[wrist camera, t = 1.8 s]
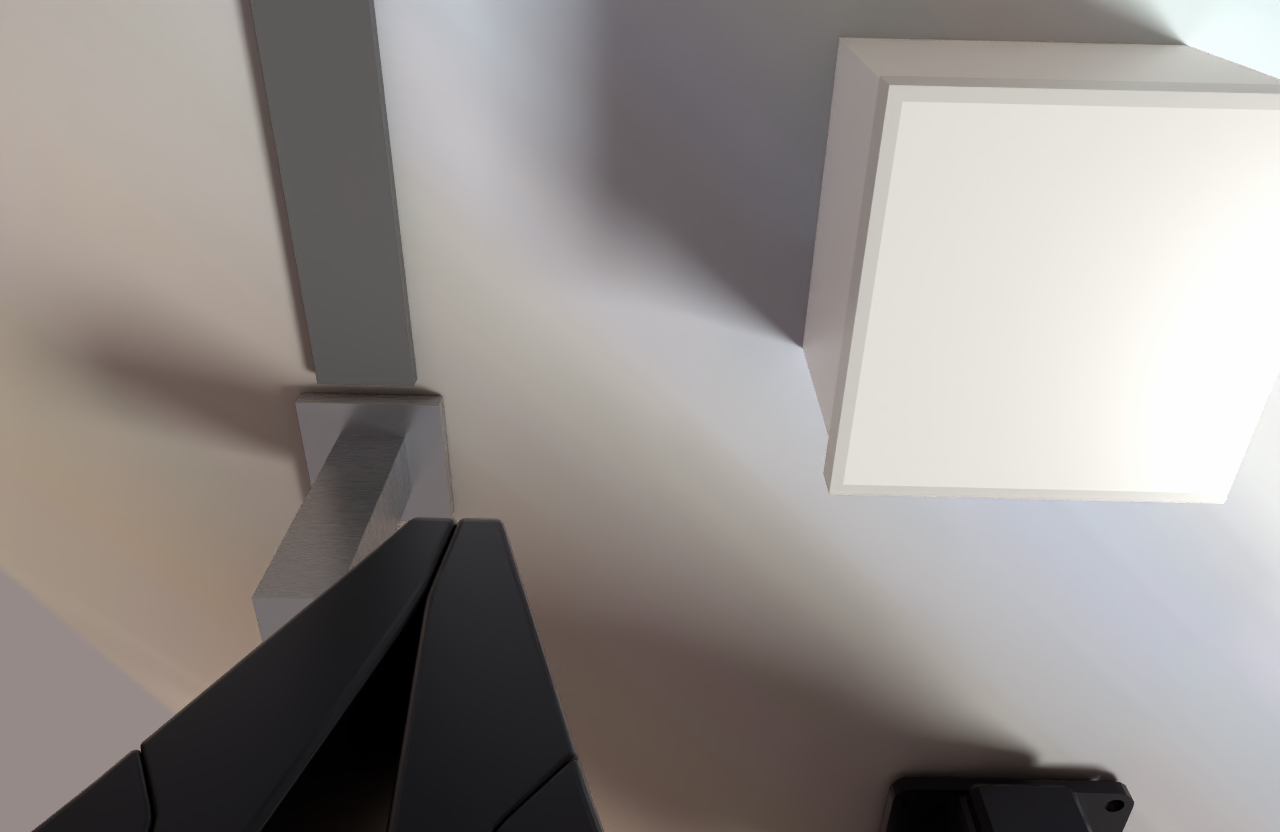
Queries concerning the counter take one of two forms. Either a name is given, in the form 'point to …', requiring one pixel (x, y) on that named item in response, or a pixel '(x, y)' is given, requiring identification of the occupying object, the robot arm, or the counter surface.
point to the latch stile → (355, 491)
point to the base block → (1044, 270)
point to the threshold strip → (338, 185)
